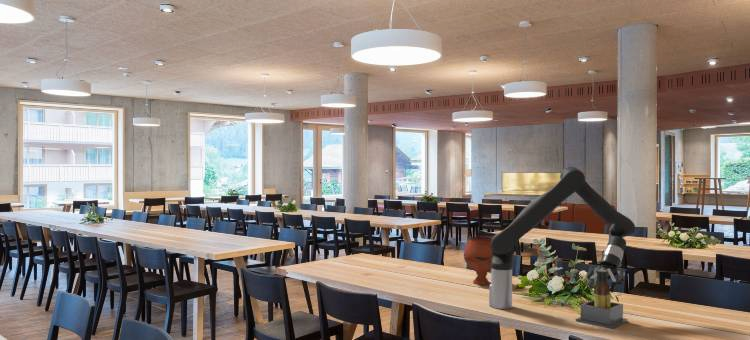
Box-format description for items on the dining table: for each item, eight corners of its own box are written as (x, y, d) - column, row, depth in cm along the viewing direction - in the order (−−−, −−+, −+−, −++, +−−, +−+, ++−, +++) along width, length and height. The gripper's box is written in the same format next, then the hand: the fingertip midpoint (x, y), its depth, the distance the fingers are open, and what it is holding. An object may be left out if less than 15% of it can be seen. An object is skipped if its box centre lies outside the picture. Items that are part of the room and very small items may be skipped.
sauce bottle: (606, 316, 230) (607, 268, 229) (613, 320, 223) (614, 271, 223) (591, 316, 229) (591, 268, 229) (597, 321, 223) (598, 271, 223)
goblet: (497, 279, 311) (497, 235, 311) (501, 287, 292) (501, 239, 292) (462, 279, 313) (462, 235, 313) (464, 286, 294) (464, 239, 294)
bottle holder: (575, 321, 226) (575, 304, 226) (591, 314, 237) (591, 298, 237) (613, 328, 216) (613, 310, 216) (627, 321, 226) (627, 304, 226)
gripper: (592, 251, 237) (580, 281, 228) (626, 254, 227) (615, 286, 218) (597, 261, 240) (586, 292, 232) (631, 266, 230) (620, 298, 222)
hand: (600, 289), depth 225 cm, fingers open, 8 cm apart
